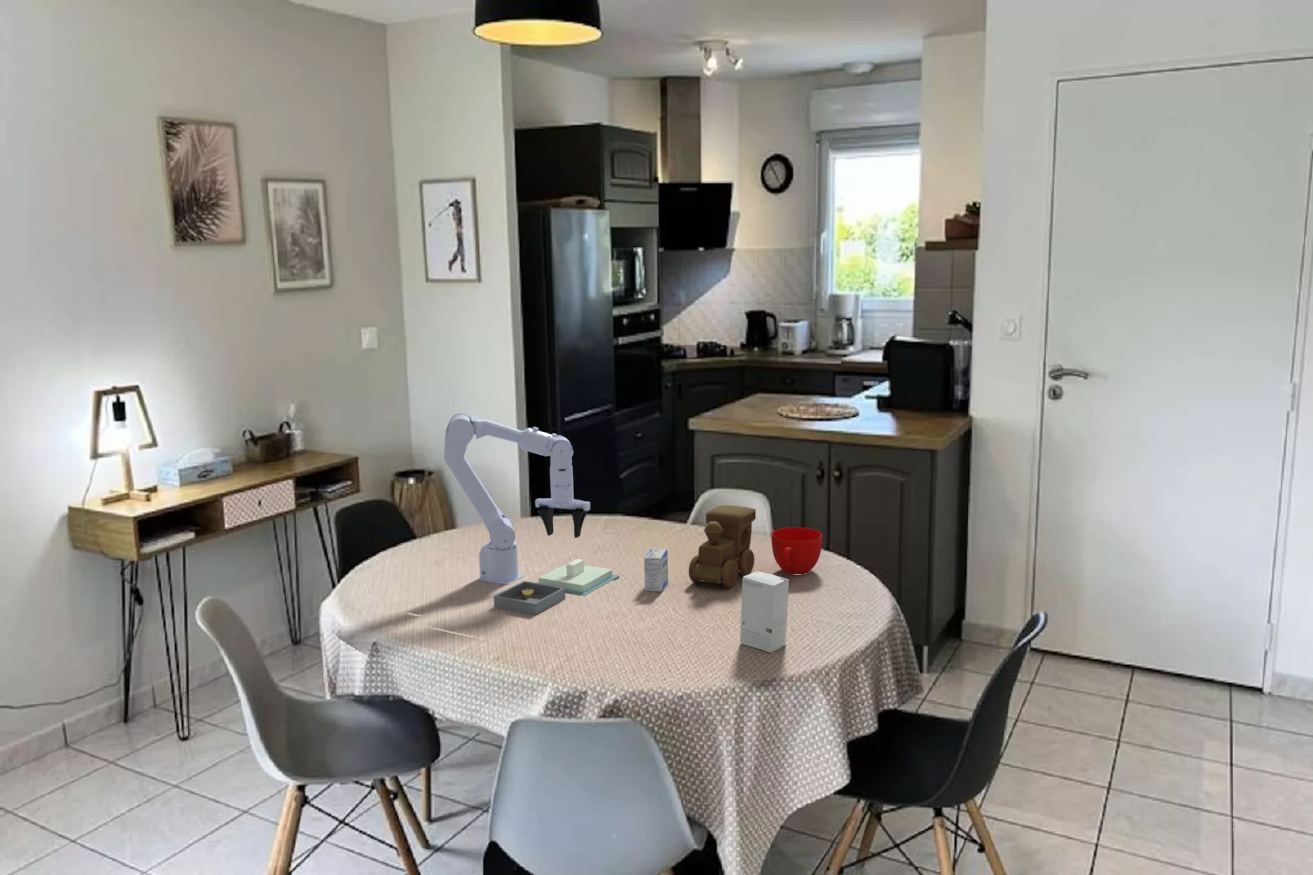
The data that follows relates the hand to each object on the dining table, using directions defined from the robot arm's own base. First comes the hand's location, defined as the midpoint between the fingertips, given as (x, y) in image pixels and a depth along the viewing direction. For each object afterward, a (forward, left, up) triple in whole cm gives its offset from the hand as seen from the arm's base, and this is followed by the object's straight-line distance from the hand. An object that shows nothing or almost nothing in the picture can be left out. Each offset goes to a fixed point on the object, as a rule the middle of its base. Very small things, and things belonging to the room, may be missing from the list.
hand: (563, 535), depth 250 cm
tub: (+5, -22, -10) cm, 25 cm away
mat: (+6, -4, -10) cm, 13 cm away
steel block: (+8, -24, -10) cm, 27 cm away
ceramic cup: (+53, +26, -11) cm, 60 cm away
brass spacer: (+3, -20, -10) cm, 22 cm away
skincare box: (+64, -20, -11) cm, 68 cm away
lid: (+6, -4, -9) cm, 11 cm away
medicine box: (+26, +2, -11) cm, 28 cm away
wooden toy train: (+38, +15, -11) cm, 42 cm away
